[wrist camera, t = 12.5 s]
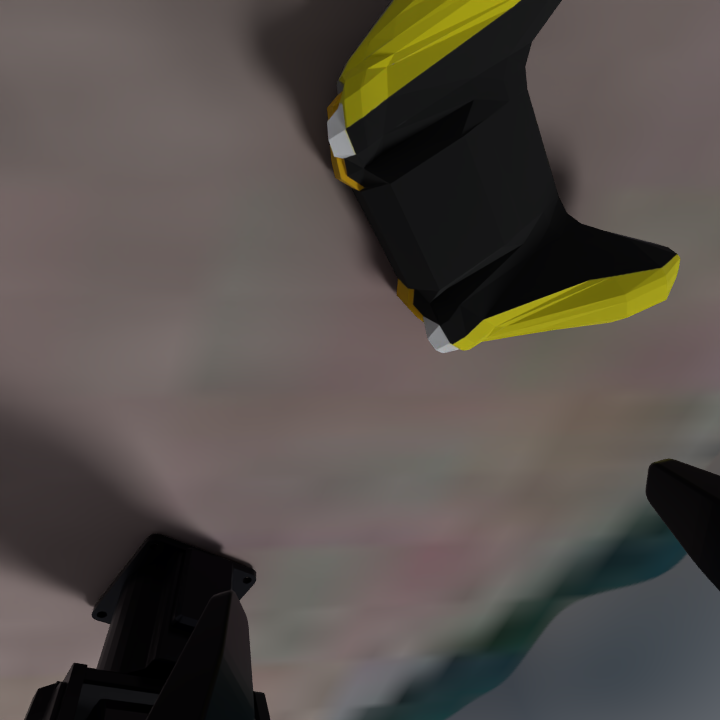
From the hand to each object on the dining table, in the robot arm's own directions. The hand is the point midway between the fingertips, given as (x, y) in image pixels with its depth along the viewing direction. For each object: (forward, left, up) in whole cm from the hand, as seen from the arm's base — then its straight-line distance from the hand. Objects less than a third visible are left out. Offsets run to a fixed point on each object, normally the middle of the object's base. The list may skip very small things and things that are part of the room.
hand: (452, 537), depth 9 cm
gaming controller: (+8, 0, -13) cm, 16 cm away
